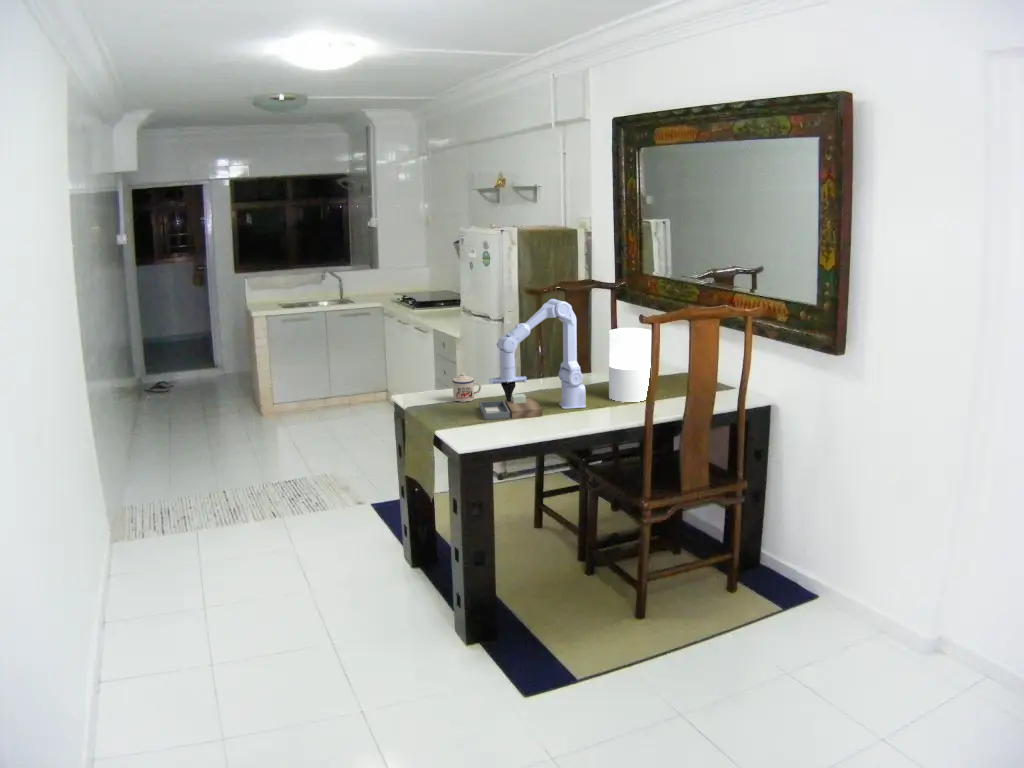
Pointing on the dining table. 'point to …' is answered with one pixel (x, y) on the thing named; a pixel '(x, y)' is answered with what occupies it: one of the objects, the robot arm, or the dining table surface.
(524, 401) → the sage tile
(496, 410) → the cream tile
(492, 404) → the box
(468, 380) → the teacup with lid
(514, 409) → the walnut plate
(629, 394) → the cylinder
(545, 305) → the robot arm
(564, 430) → the dining table surface
